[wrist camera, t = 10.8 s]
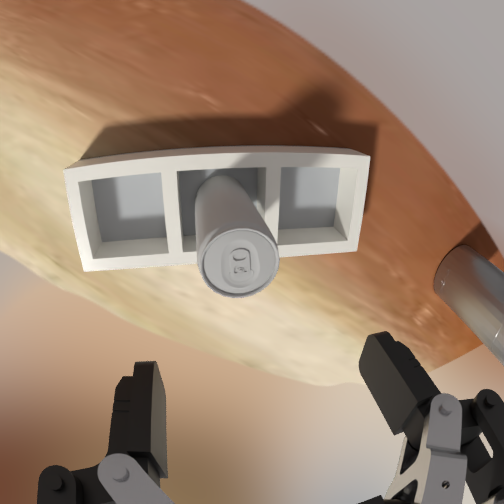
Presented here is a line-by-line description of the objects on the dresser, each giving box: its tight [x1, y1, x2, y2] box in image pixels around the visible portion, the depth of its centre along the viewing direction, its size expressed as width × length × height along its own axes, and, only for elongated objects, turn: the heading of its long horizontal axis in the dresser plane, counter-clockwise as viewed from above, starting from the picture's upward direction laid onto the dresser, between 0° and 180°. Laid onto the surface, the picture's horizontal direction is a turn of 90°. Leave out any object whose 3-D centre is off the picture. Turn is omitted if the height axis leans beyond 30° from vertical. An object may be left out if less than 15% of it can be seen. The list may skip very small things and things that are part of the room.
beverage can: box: [195, 175, 280, 298], centre depth 22 cm, size 5×5×12 cm
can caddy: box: [63, 145, 370, 272], centre depth 26 cm, size 26×9×4 cm, turn 90°
